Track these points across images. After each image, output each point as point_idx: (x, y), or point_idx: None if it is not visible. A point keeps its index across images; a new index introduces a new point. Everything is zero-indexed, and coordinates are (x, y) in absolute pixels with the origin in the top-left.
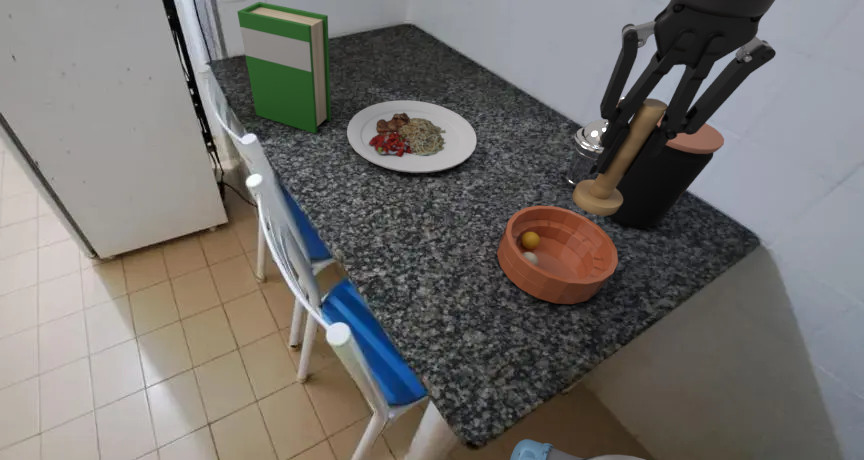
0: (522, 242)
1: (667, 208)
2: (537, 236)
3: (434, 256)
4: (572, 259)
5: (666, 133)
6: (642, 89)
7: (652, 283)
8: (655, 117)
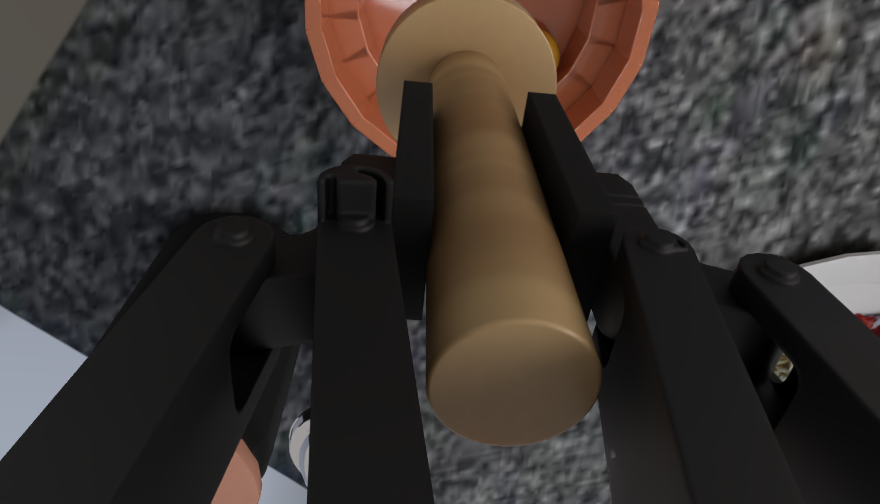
0: (556, 42)
1: (155, 262)
2: None
3: None
4: None
5: (370, 213)
6: (758, 441)
7: (176, 9)
8: (494, 278)
